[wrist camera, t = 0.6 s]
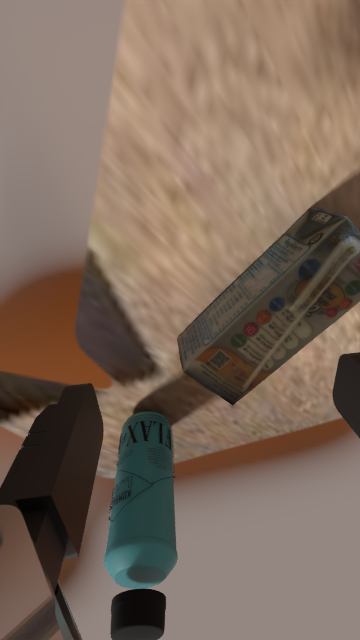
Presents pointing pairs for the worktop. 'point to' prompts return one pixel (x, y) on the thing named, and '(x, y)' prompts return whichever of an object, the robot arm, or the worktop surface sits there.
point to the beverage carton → (275, 306)
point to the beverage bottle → (142, 527)
